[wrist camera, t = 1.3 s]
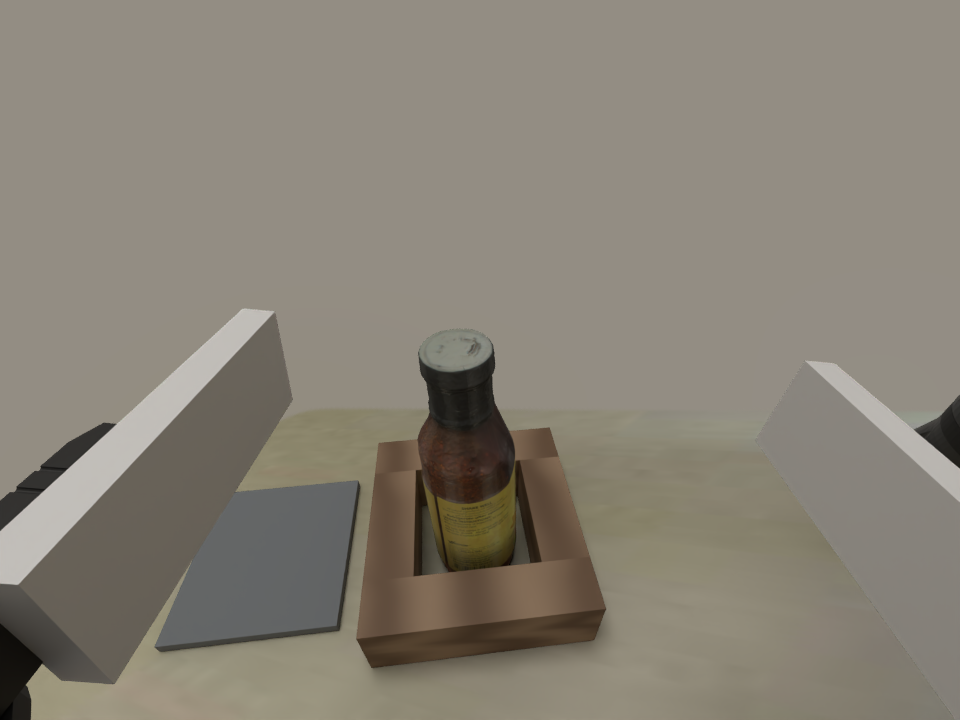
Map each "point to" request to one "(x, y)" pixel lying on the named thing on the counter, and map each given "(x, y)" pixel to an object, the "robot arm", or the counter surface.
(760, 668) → the counter surface
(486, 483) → the sauce bottle
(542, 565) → the rectangular frame
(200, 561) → the mat
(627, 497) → the counter surface
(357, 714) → the counter surface
